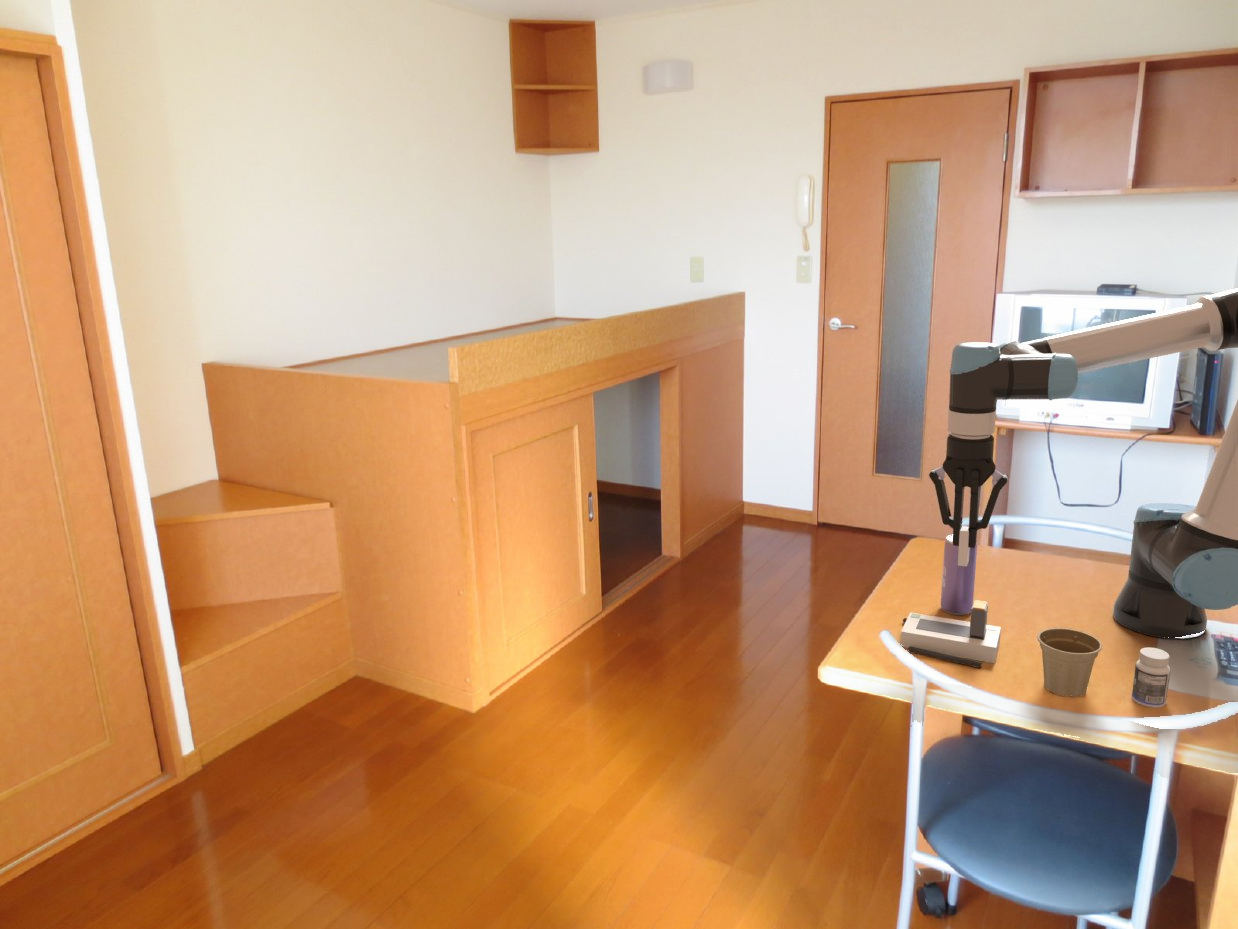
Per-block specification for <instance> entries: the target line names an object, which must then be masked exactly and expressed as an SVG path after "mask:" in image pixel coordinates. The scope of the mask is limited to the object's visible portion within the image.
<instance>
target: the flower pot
mask: <svg viewBox="0 0 1238 929" xmlns="http://www.w3.org/2000/svg"><path fill="white" fill-rule="evenodd" d="M1036 638H1037V641H1038V642H1039V647H1040V649H1041V654H1042V655H1041V656H1042V657H1041V658H1042V668H1043V670H1042V671H1043V684H1044V687H1045V688H1046V689H1047V690H1048V691H1049V692H1051V693H1054V694H1056V695H1058V696H1062V697H1068V696H1071V697H1074V698H1079V697H1082V696H1084V695H1085V694H1086V693H1087V689H1088V687H1089V682H1090V679H1091V674H1092V671H1093V667H1094V663H1095V660H1096V658H1097V657H1098V656H1099V652H1101V650H1103V643H1102V642H1101V641H1100V640H1099V638H1098V637H1095V636H1094V635H1092V634H1089V633H1087V632H1084V631H1081V630H1077V629H1073V628H1066V627H1065V628H1064V627H1063V628H1062V627H1051V628H1046V629H1043V630H1041V631H1039V632H1038V633H1037V636H1036Z"/></svg>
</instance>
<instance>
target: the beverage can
mask: <svg viewBox="0 0 1238 929" xmlns="http://www.w3.org/2000/svg"><path fill="white" fill-rule="evenodd" d="M958 553H959V546H954V545H953V534H949V535H947V536H946V537H945V541H944V548H943V565H942V578H941V579H942V580H941V590H940V591H941V592H940V594H941V595H940V608H941V609H942V611H944V612H945V613H947V614H949V615H952V616H953V615H954V616H966V615H969V614H971V608H972V605H973V602H974V597H975V595H974V594H975V580H976V568H977V555H978V554H977V553H978V543H977V542H976V545H975V547H974V548H971V547H970V549H969V562H968V564H967V566H959V565H958Z"/></svg>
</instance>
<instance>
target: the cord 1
mask: <svg viewBox="0 0 1238 929" xmlns="http://www.w3.org/2000/svg"><path fill="white" fill-rule="evenodd" d="M908 650H909V651H910V653H913V654H916V655H917V654H918V655H923V656H927V657H931V658H936V659H940V660H943V661H949V662H953V663H957V664H960V665H966V666H971V667H975V668H978V669H980V668H981V667H982V662H983V661H979V660H973V659H968V658H962V657H956V656H951V655H947V654H943V653H938V652H934V651H929V650H925V649H920V648H916V647H911V646H910V647H908V648H907V651H908ZM909 651H908V652H909Z"/></svg>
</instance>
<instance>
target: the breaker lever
mask: <svg viewBox="0 0 1238 929" xmlns="http://www.w3.org/2000/svg"><path fill="white" fill-rule="evenodd" d="M988 611H989V602H988V601H986V600H977V599H975V600H973V605H972V608H971V612H970V620H969V622H970V633H969V635H973V636H979V637H984V635H985V631H986V625H988Z"/></svg>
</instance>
